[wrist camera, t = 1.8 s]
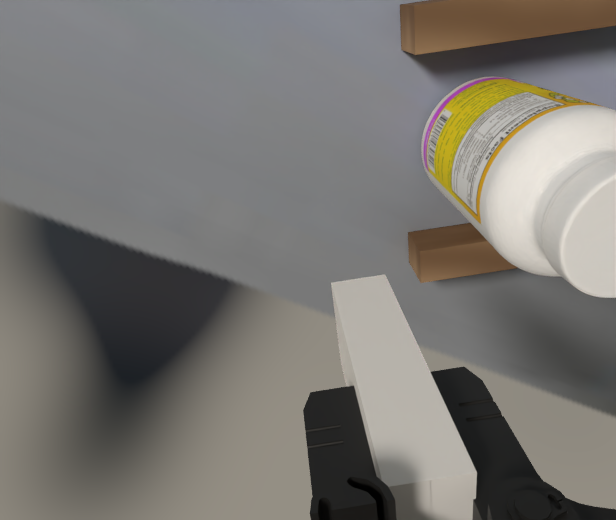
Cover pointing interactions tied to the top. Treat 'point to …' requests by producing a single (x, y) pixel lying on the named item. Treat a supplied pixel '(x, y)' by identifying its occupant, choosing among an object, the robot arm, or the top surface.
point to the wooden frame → (467, 33)
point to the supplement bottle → (531, 176)
